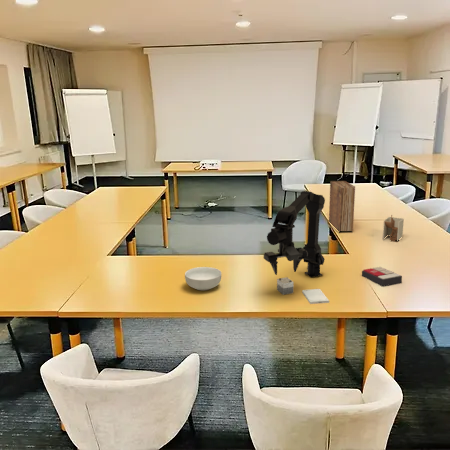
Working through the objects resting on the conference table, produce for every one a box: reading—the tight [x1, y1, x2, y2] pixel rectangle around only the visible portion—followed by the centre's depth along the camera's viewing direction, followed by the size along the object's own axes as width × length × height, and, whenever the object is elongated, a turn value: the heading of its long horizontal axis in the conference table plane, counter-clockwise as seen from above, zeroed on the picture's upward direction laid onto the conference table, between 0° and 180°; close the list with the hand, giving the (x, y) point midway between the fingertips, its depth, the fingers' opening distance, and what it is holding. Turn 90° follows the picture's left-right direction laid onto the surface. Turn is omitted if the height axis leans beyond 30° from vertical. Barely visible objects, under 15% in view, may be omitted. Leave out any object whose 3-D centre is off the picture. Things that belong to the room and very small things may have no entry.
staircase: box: [382, 214, 405, 242], centre depth 269 cm, size 9×11×17 cm
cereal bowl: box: [184, 266, 222, 291], centre depth 204 cm, size 17×17×7 cm
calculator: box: [361, 266, 403, 288], centre depth 209 cm, size 11×4×15 cm
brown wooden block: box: [328, 179, 356, 233], centre depth 294 cm, size 25×9×30 cm, turn 2°
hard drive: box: [301, 288, 330, 305], centre depth 191 cm, size 2×8×12 cm
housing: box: [276, 277, 295, 296], centre depth 197 cm, size 6×5×6 cm
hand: (285, 273), depth 196 cm, fingers open, 9 cm apart
